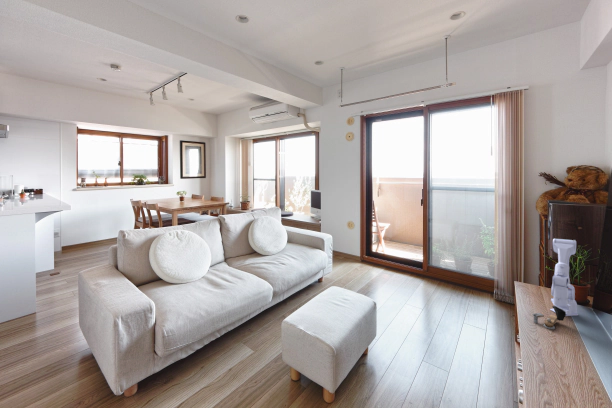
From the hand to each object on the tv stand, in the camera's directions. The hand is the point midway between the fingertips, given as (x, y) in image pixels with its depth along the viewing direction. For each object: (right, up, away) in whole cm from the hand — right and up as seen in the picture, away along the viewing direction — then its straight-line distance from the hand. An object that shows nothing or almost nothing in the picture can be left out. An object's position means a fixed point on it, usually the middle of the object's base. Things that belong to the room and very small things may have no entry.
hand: (560, 320), depth 148 cm
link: (-5, -1, 0) cm, 5 cm away
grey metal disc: (-8, -3, -2) cm, 9 cm away
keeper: (-10, -2, +3) cm, 10 cm away
